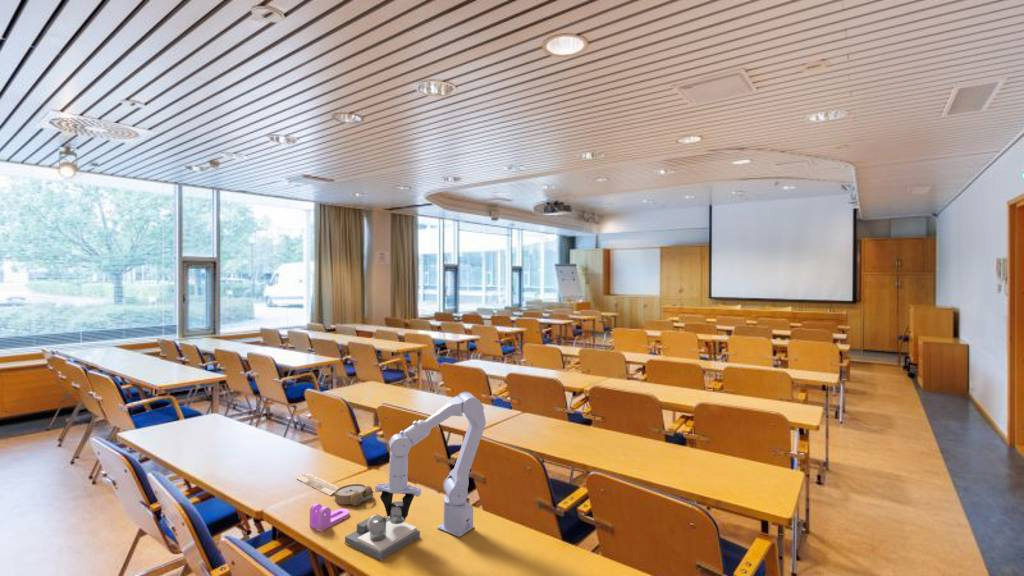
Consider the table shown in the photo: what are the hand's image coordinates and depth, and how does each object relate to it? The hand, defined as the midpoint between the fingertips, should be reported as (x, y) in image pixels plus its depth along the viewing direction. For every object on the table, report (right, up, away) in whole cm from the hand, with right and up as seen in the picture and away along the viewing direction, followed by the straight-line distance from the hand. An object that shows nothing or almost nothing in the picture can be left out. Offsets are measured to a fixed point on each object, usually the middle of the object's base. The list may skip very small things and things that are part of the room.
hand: (397, 515), depth 154 cm
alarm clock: (-22, -6, +25) cm, 33 cm away
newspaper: (-39, -6, +36) cm, 53 cm away
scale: (-4, -7, -2) cm, 8 cm away
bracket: (-24, -6, +9) cm, 27 cm away
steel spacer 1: (-4, -3, -6) cm, 8 cm away
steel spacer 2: (0, -2, 0) cm, 2 cm away
